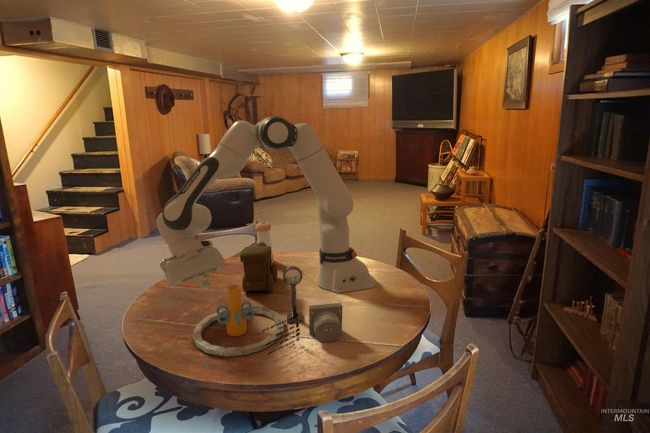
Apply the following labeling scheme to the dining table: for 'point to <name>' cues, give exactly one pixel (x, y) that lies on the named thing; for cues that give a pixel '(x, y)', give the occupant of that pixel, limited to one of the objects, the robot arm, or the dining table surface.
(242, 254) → the brown backpack
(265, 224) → the salt shaker
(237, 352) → the ring
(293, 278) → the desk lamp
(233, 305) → the orange vase with loops
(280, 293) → the dining table surface
